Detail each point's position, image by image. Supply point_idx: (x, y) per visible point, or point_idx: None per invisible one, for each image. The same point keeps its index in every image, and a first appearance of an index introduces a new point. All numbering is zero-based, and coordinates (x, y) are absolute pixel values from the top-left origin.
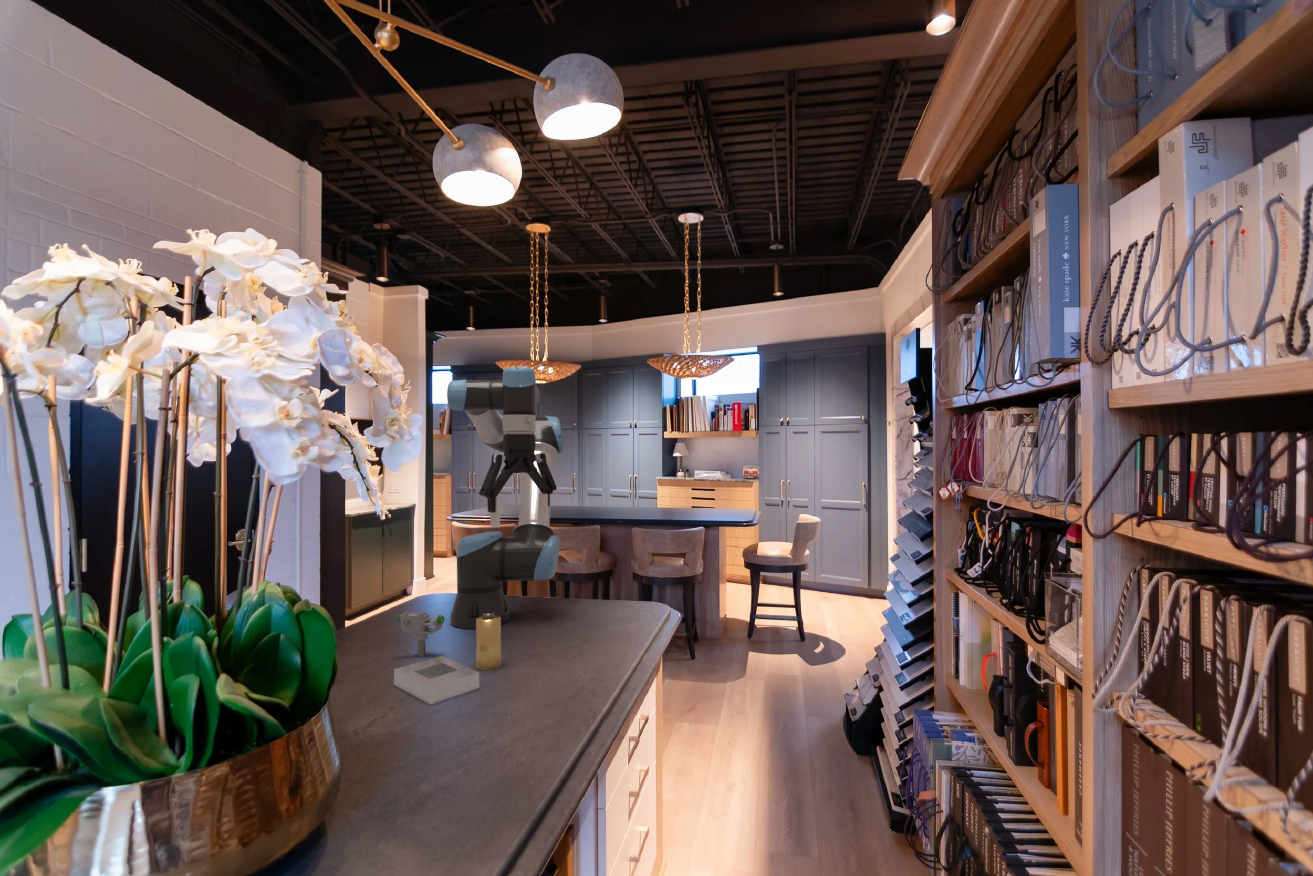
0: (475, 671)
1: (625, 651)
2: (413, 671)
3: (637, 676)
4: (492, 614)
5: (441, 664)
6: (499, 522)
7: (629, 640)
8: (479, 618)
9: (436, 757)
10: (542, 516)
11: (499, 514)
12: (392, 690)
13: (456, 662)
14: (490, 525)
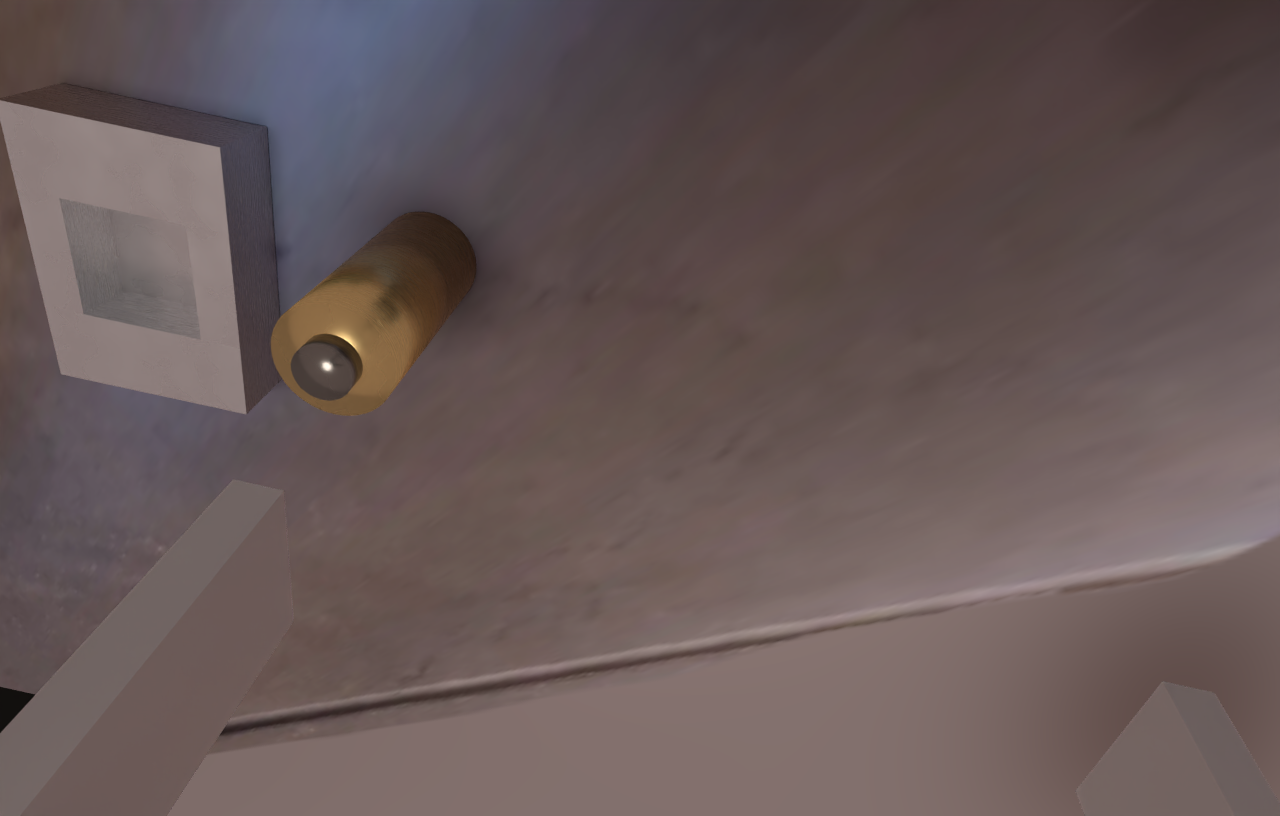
0: (241, 398)
1: (867, 566)
2: (57, 197)
3: (674, 671)
4: (328, 399)
5: (185, 222)
6: (252, 667)
7: (1003, 527)
8: (296, 326)
9: (40, 526)
10: (1137, 813)
11: (180, 777)
12: (56, 79)
13: (231, 273)
14: (226, 488)
